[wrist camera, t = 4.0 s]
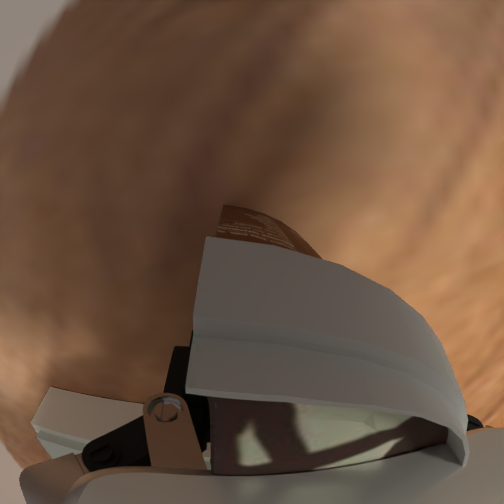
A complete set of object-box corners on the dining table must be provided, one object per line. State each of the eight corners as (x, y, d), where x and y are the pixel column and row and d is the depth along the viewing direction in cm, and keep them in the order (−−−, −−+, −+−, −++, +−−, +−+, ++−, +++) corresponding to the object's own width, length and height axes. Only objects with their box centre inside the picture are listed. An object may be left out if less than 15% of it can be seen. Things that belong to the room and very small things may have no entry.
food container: (323, 400, 16) (365, 554, 7) (216, 401, 16) (212, 571, 7) (378, 182, 12) (591, 306, 2) (225, 166, 11) (179, 334, 2)
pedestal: (50, 386, 16) (26, 430, 12) (333, 406, 17) (349, 458, 13) (112, 489, 21) (105, 520, 18) (294, 501, 22) (299, 534, 19)
